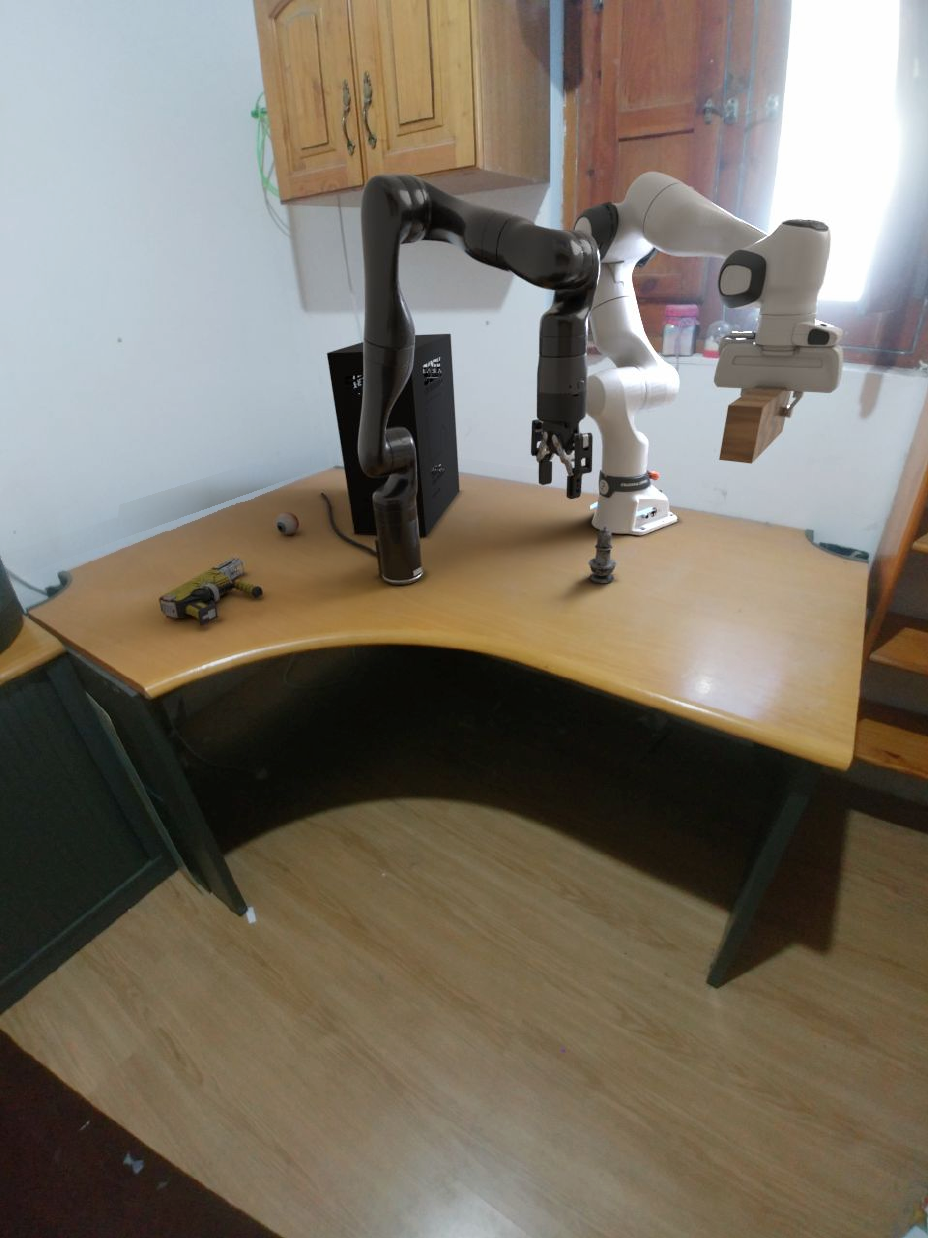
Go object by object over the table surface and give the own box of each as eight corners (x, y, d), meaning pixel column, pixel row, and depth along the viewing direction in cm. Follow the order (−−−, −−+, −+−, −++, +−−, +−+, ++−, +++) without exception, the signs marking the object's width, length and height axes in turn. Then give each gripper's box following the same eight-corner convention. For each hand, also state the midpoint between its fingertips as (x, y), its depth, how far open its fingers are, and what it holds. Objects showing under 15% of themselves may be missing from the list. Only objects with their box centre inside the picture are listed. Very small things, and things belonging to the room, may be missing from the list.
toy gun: (284, 566, 139) (229, 555, 143) (214, 612, 119) (152, 597, 123) (286, 584, 141) (232, 573, 145) (217, 632, 121) (157, 617, 125)
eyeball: (273, 537, 164) (268, 516, 161) (287, 528, 169) (282, 508, 166) (291, 539, 161) (286, 518, 158) (305, 530, 166) (301, 510, 163)
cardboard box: (426, 536, 158) (409, 350, 136) (354, 533, 163) (326, 352, 140) (459, 490, 190) (450, 333, 167) (398, 489, 194) (381, 336, 172)
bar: (753, 429, 116) (762, 381, 111) (782, 431, 113) (792, 382, 109) (719, 459, 99) (728, 405, 95) (751, 463, 97) (762, 407, 92)
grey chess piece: (615, 584, 129) (619, 532, 123) (587, 583, 131) (590, 531, 125) (615, 572, 134) (619, 521, 128) (588, 571, 135) (591, 520, 129)
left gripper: (517, 383, 95) (517, 483, 104) (566, 396, 84) (563, 507, 92) (557, 378, 98) (555, 476, 106) (611, 389, 87) (603, 498, 95)
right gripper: (715, 333, 106) (704, 414, 113) (848, 334, 96) (826, 423, 103) (725, 329, 111) (713, 407, 118) (853, 330, 100) (832, 416, 107)
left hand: (558, 490), depth 99 cm, fingers open, 8 cm apart
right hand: (767, 415), depth 110 cm, fingers closed on bar, 5 cm apart
